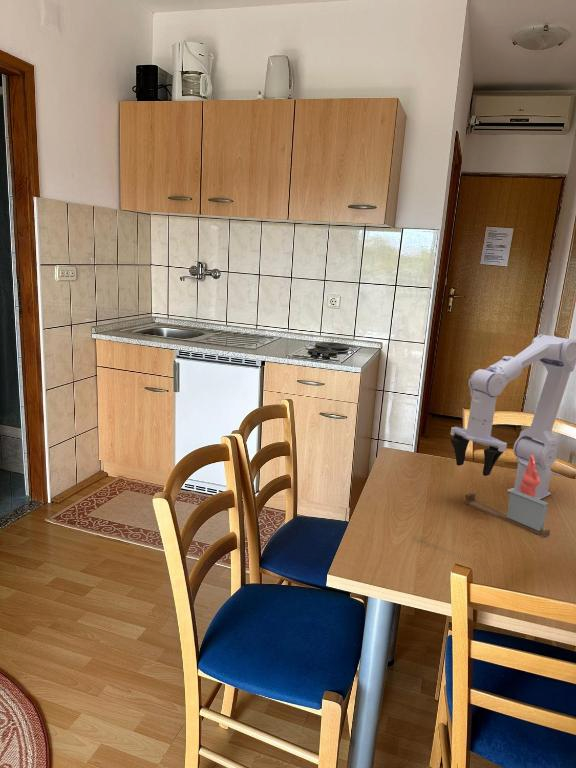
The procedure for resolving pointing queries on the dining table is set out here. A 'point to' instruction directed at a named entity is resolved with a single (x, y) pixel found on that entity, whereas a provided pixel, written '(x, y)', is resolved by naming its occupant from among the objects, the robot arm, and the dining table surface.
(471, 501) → the rail
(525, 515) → the screen
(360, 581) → the dining table surface
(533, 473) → the figurine
